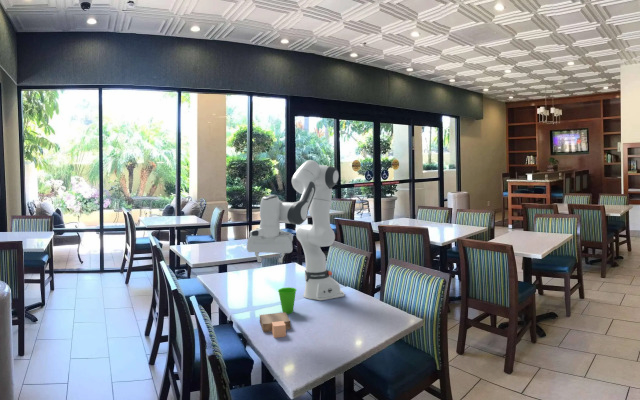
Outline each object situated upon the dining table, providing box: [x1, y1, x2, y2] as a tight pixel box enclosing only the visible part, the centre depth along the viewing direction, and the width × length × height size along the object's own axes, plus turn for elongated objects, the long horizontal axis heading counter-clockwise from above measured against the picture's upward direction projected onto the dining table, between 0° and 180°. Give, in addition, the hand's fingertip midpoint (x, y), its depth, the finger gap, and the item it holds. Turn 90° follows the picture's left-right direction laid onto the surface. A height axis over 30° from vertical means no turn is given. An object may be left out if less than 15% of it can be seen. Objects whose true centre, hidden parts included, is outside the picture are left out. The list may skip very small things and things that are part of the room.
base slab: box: [259, 311, 292, 333], centre depth 192 cm, size 12×12×4 cm
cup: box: [277, 286, 297, 315], centre depth 209 cm, size 9×9×11 cm
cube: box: [271, 321, 287, 339], centre depth 181 cm, size 5×5×5 cm
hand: (269, 262), depth 191 cm, fingers open, 8 cm apart
